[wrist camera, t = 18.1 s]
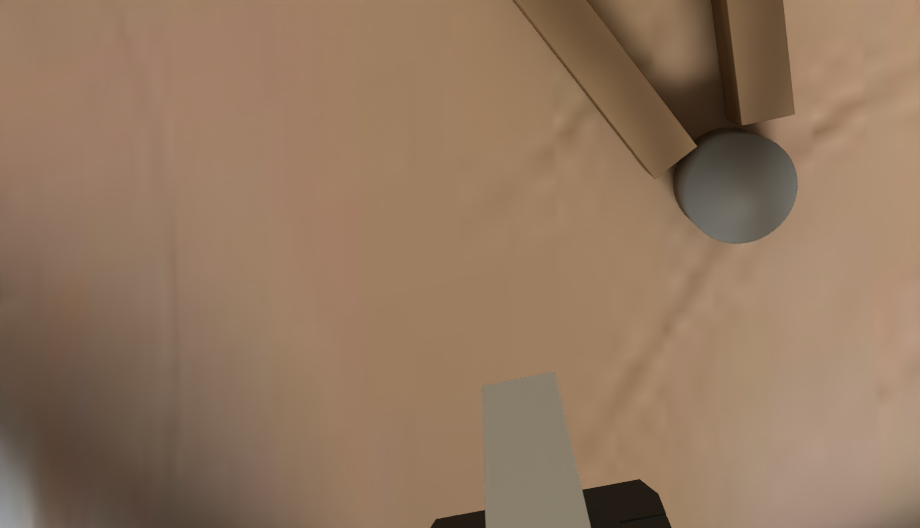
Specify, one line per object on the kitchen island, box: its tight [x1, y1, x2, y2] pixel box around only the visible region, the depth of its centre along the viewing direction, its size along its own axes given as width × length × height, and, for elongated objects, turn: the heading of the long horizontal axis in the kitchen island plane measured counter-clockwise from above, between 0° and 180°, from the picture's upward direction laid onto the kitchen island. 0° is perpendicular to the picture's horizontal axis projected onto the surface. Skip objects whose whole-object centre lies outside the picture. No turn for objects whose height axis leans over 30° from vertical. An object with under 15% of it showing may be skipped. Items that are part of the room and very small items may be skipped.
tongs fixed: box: [674, 0, 797, 244], centre depth 38 cm, size 5×20×2 cm, turn 12°
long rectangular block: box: [513, 0, 697, 179], centre depth 39 cm, size 2×14×2 cm, turn 40°
